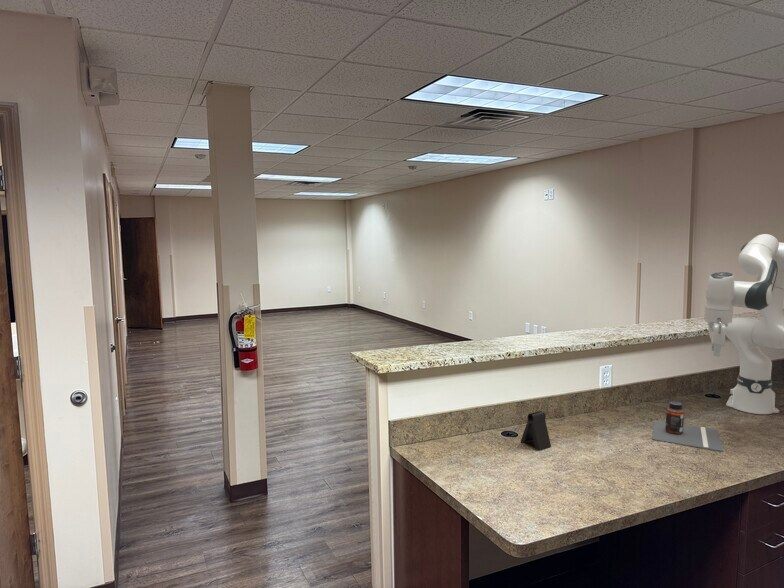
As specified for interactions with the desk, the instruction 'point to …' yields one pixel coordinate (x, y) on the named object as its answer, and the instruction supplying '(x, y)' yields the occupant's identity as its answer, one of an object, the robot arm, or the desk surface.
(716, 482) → the desk surface
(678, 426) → the supplement bottle
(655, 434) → the mat
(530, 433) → the phone stand
